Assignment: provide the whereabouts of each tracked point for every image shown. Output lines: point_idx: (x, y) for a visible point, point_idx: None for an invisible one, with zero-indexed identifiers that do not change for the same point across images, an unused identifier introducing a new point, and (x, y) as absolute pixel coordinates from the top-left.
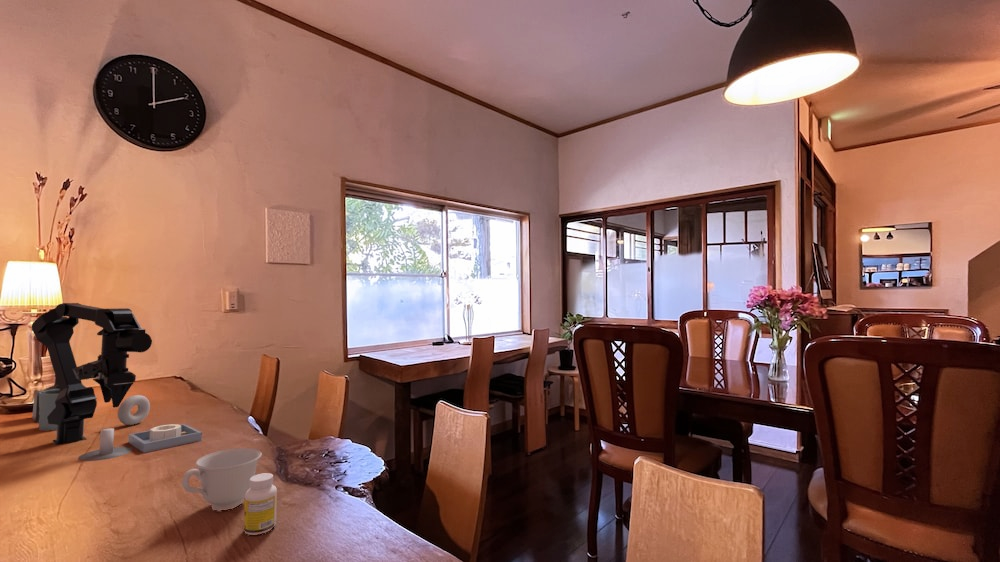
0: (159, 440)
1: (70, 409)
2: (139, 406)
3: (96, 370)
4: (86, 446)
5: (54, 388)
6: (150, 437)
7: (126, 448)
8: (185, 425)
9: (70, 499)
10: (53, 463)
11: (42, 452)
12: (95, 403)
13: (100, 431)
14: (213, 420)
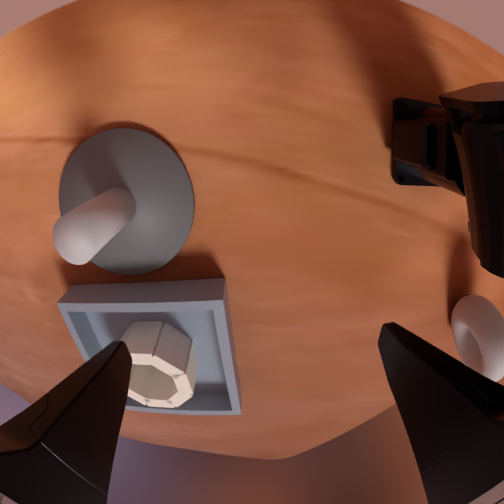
0: (74, 336)
1: (470, 127)
2: (480, 354)
3: None
4: (318, 166)
5: None
6: (149, 335)
7: (141, 263)
8: (217, 412)
9: None
10: (148, 64)
11: (347, 50)
12: (489, 268)
13: (68, 213)
14: (318, 433)
